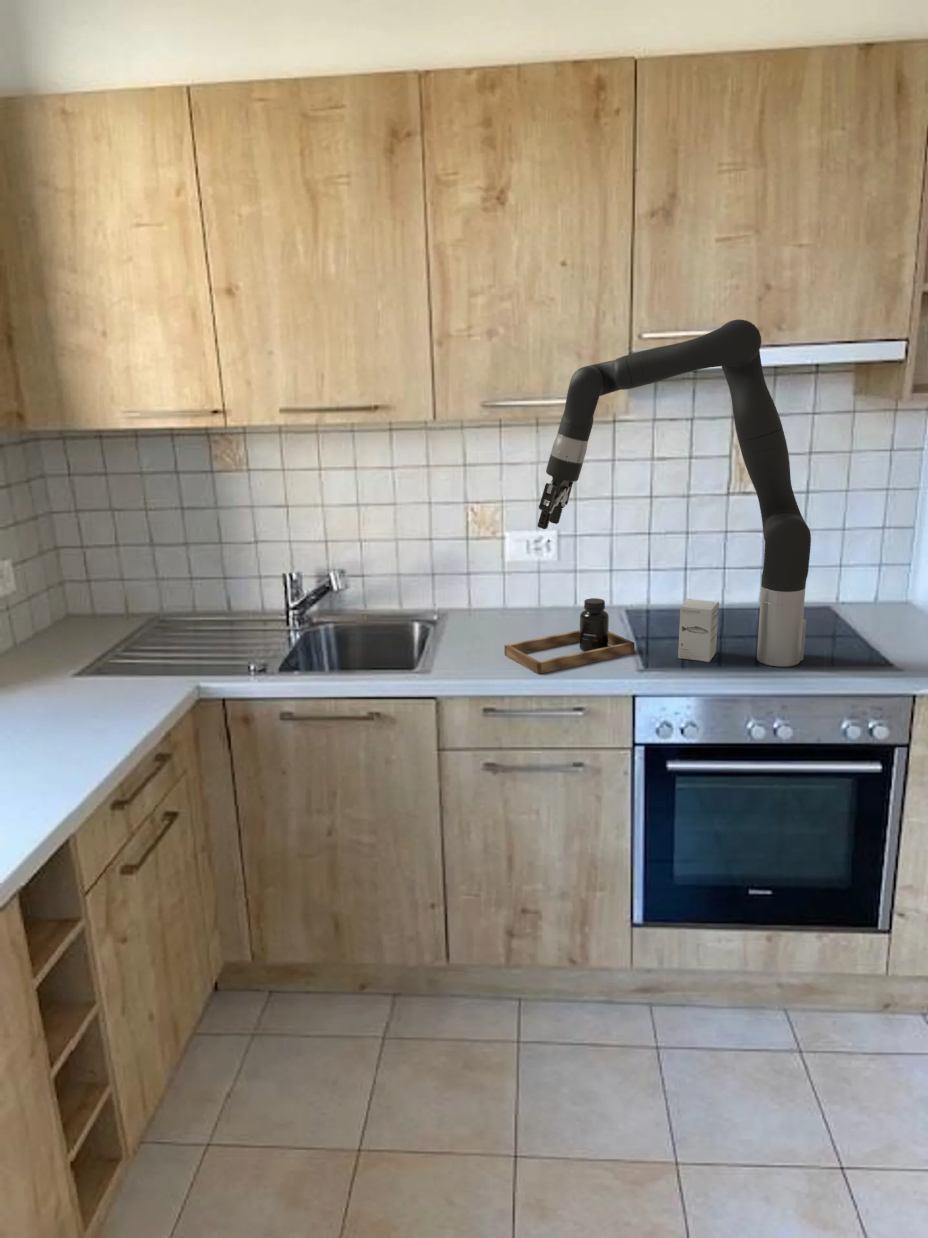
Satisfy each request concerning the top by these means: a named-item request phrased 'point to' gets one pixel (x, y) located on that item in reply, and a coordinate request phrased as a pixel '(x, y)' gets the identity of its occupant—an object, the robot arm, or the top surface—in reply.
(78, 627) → the top surface
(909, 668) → the top surface
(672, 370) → the robot arm
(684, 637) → the supplement box
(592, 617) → the supplement bottle
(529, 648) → the walnut frame
